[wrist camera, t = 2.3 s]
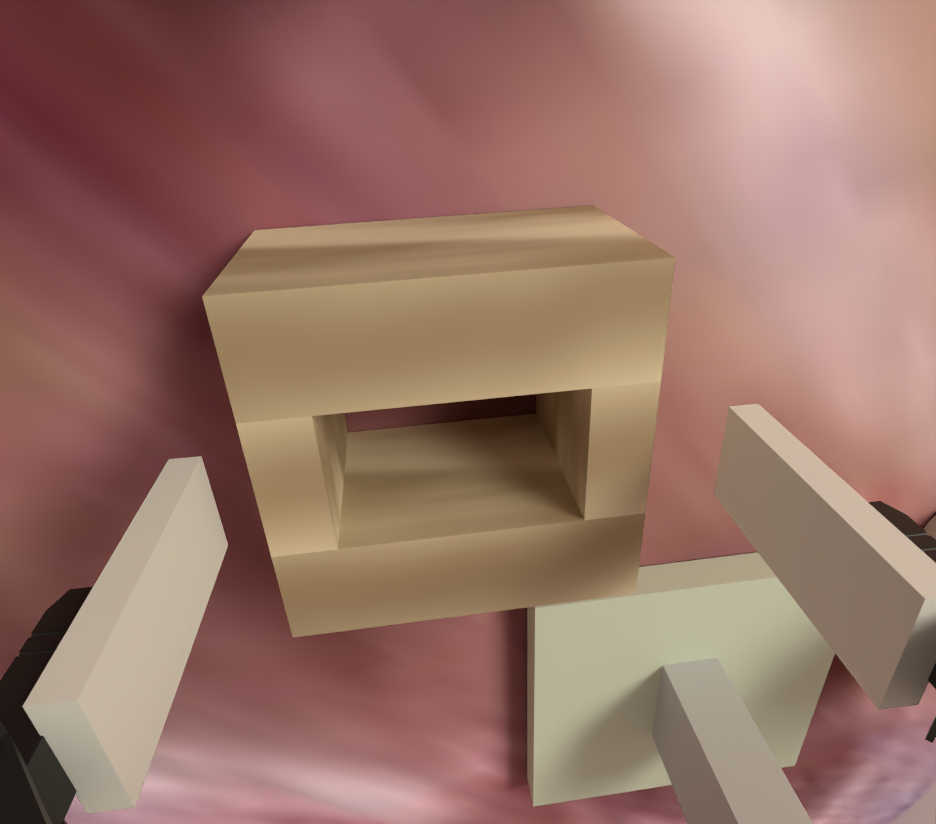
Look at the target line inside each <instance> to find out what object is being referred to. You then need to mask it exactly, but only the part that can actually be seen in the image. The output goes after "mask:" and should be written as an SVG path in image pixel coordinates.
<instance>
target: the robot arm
mask: <svg viewBox="0 0 936 824" xmlns="http://www.w3.org/2000/svg"><path fill="white" fill-rule="evenodd" d="M714 496H715V497H716V498H717V500H718V501H719V502H720V504H721V505H722V506H723V507H724V509H725V510H726V511H727V513H728V514H729V515H730V517H731V518H732V519H733V521H734V522H735V523H736V524H737V526H738V527H739V528H740V530H741V531H742V532H743V534H744V535H745V536H746V537H747V539H748V540H749V541H750V543H751V544H752V545H753V547H754V548H755V549H756V551H757V552H758V553H759V554H760V556H761V557H762V558H763V560H764V561H765V562H766V564H767V565H768V566H769V567H770V569H771V570H772V571H773V573H774V574H775V575H776V577H777V578H778V579H779V581H780V582H781V583H782V584H783V586H784V587H785V588H786V590H787V591H788V592H789V594H790V595H791V596H792V597H793V599H794V600H795V601H796V603H797V604H798V605H799V607H800V608H801V609H802V611H803V612H804V613H805V614H806V616H807V617H808V618H809V620H810V621H811V622H812V624H813V625H814V626H815V627H816V629H817V630H818V631H819V633H820V634H821V635H822V637H823V638H824V639H825V641H826V642H827V643H828V644H829V646H830V647H831V648H832V650H833V651H834V652H835V654H836V655H837V656H838V657H839V659H840V660H841V661H842V663H843V664H844V665H845V667H846V668H847V669H848V671H849V672H850V673H851V674H852V676H853V677H854V678H855V680H856V681H857V682H858V684H859V685H860V686H861V687H862V689H863V690H864V691H865V693H866V694H867V695H868V697H869V698H870V699H871V701H872V702H873V703H874V704H875V706H876V707H877V708H878V710H881V709H888V708H896V707H904V706H911V705H918V704H919V702H920V700H921V698H922V696H923V693H924V691H925V689H926V687H927V685H928V683H929V682H930V683H931V684H932V685H933V686H934V688H935V689H936V540H935V539H934V538H933V537H932V536H931V535H930V536H928V535H927V532H926V531H925V530H924V529H923V528H921V527H920V526H919V525H918V524H917V523H916V522H914V521H913V520H912V519H911V518H910V517H908V516H907V515H906V514H904V513H902V512H900V511H898V510H896V509H894V508H892V507H890V506H889V505H887V504H885V503H883V502H881V501H877V502H867V501H866V500H865V499H864V498H863V497H861V496H860V495H859V494H858V493H857V492H856V491H855V490H854V489H853V488H851V487H850V486H849V485H848V484H847V483H846V482H845V481H844V480H842V479H841V478H840V477H839V476H838V475H837V474H836V473H835V472H834V471H832V470H831V469H830V468H829V467H828V466H827V465H826V464H825V463H824V462H822V461H821V460H820V459H819V458H818V457H817V456H816V455H815V454H813V453H812V452H811V451H810V450H809V449H808V448H807V447H806V446H805V445H803V444H802V443H801V442H800V441H799V440H798V439H797V438H796V437H794V436H793V435H792V434H791V433H790V432H789V431H788V430H787V429H786V428H784V427H783V426H782V425H781V424H780V423H779V422H778V421H777V420H775V419H774V418H773V417H772V416H771V415H770V414H769V413H768V412H767V411H765V410H764V409H763V408H762V407H761V406H760V405H759V404H752V405H741V406H730V407H729V410H728V416H727V422H726V427H725V433H724V439H723V444H722V450H721V456H720V461H719V467H718V473H717V478H716V484H715V490H714ZM227 547H228V543H227V539H226V536H225V533H224V529H223V526H222V523H221V519H220V516H219V513H218V509H217V506H216V503H215V499H214V496H213V493H212V489H211V486H210V483H209V479H208V476H207V473H206V470H205V466H204V463H203V460H202V456H198V457H188V458H177V459H169V460H168V461H167V463H166V465H165V466H164V468H163V470H162V471H161V473H160V475H159V476H158V478H157V480H156V482H155V483H154V485H153V487H152V488H151V490H150V492H149V493H148V495H147V497H146V498H145V500H144V502H143V504H142V505H141V507H140V509H139V510H138V512H137V514H136V515H135V517H134V519H133V520H132V522H131V524H130V525H129V527H128V529H127V531H126V532H125V534H124V536H123V537H122V539H121V541H120V542H119V544H118V546H117V547H116V549H115V551H114V553H113V554H112V556H111V558H110V559H109V561H108V563H107V564H106V566H105V568H104V569H103V571H102V573H101V575H100V576H99V578H98V580H97V581H96V583H95V585H94V586H93V587H88V588H78V589H70V590H69V591H68V592H67V593H66V594H64V595H63V596H62V597H61V598H60V599H59V600H58V601H56V602H55V603H54V604H53V605H52V606H51V607H50V608H49V609H47V610H46V612H45V613H44V615H43V616H42V618H41V619H40V621H39V622H38V624H37V626H36V627H35V629H34V630H33V632H32V637H31V638H28V639H27V641H26V642H25V644H24V645H23V647H22V648H21V650H20V652H19V653H20V654H19V657H16V658H15V659H14V661H13V662H12V664H11V665H10V667H9V668H8V670H7V671H6V673H5V674H4V676H3V678H2V679H1V681H0V824H67V823H66V821H65V820H64V818H65V816H66V814H67V812H68V809H69V807H70V805H71V803H72V800H73V798H74V796H75V794H76V796H77V797H78V799H79V801H80V802H81V804H82V806H83V807H84V809H85V811H86V812H87V814H90V813H98V812H105V811H113V810H121V809H128V808H135V806H136V803H137V801H138V798H139V795H140V792H141V789H142V786H143V784H144V781H145V778H146V775H147V772H148V770H149V767H150V764H151V761H152V758H153V755H154V753H155V750H156V747H157V744H158V741H159V739H160V736H161V733H162V730H163V727H164V725H165V722H166V719H167V716H168V713H169V710H170V708H171V705H172V702H173V699H174V696H175V694H176V691H177V688H178V685H179V682H180V680H181V677H182V674H183V671H184V668H185V665H186V663H187V660H188V657H189V654H190V651H191V649H192V646H193V643H194V640H195V637H196V634H197V632H198V629H199V626H200V623H201V620H202V618H203V615H204V612H205V609H206V606H207V604H208V601H209V598H210V595H211V592H212V589H213V587H214V584H215V581H216V578H217V575H218V573H219V570H220V567H221V564H222V561H223V558H224V556H225V553H226V550H227ZM935 737H936V717H935V719H934V721H933V723H932V725H931V727H930V729H929V731H928V734H927V736H926V739H925V740H928V741H930V742H932V743H933V741H934V739H935Z"/></svg>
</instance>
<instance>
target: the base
mask: <svg viewBox="0 0 936 824" xmlns="http://www.w3.org/2000/svg"><path fill="white" fill-rule="evenodd" d="M834 655H835V652H834V651H833V650H832V648H831V647H830V646H829V644H828V643H827V642H826V641H825V639H824V638H823V637H822V635H821V634H820V633H819V631H818V630H817V629H816V627H815V626H814V625H813V624H812V622H811V621H810V620H809V618H808V617H807V616H806V614H805V613H804V612H803V611H802V609H801V608H800V607H799V605H798V604H797V603H796V601H795V600H794V599H793V597H792V596H791V595H790V594H789V592H788V591H787V590H786V588H785V587H784V586H783V584H782V583H781V582H780V581H779V579H778V578H777V577H776V575H775V574H774V573H773V571H772V570H771V569H770V567H769V566H768V565H767V564H766V562H765V561H764V560H763V558H762V557H761V556H760V554H759V553H758V552H756V553H748V554H740V555H732V556H724V557H716V558H708V559H700V560H692V561H684V562H677V563H669V564H661V565H653V566H645V567H639V570H638V579H637V587H636V593H635V594H627V595H620V596H612V597H604V598H596V599H589V600H581V601H573V602H565V603H558V604H550V605H542V606H534V607H527V779H528V784H529V789H530V793H531V798H532V803H533V806H540V805H546V804H552V803H559V802H565V801H572V800H578V799H584V798H591V797H597V796H603V795H610V794H616V793H623V792H629V791H635V790H642V789H648V788H654V787H661V786H667V785H672V786H673V789H674V791H675V794H676V796H677V799H678V801H679V803H680V806H681V808H682V811H683V813H684V816H685V818H686V821H687V823H688V824H813V823H812V821H811V820H810V818H809V816H808V814H807V813H806V811H805V809H804V807H803V806H802V804H801V802H800V800H799V799H798V797H797V795H796V793H795V792H794V790H793V788H792V787H791V785H790V783H789V781H788V780H787V778H786V776H785V774H784V773H783V771H782V769H781V768H782V767H788V766H795V764H796V761H797V758H798V755H799V752H800V750H801V747H802V744H803V741H804V738H805V736H806V733H807V730H808V727H809V725H810V722H811V719H812V716H813V713H814V711H815V708H816V705H817V702H818V699H819V697H820V694H821V691H822V688H823V685H824V683H825V680H826V677H827V674H828V671H829V669H830V666H831V663H832V660H833V657H834Z"/></svg>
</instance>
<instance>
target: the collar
mask: <svg viewBox="0 0 936 824" xmlns="http://www.w3.org/2000/svg"><path fill="white" fill-rule="evenodd" d="M675 259H676V258H675V257H674V256H672V255H670V254H669V253H667V252H666V251H664V250H663V249H661V248H659V247H658V246H656V245H655V244H653V243H651V242H650V241H648V240H647V239H645V238H644V237H642V236H640V235H639V234H637V233H636V232H634V231H633V230H631V229H629V228H628V227H626V226H625V225H623V224H621V223H620V222H618V221H617V220H615V219H614V218H612V217H610V216H609V215H607V214H606V213H604V212H603V211H601V210H599V209H598V208H596V207H595V206H579V207H566V208H552V209H538V210H525V211H511V212H497V213H484V214H470V215H456V216H443V217H429V218H415V219H402V220H388V221H374V222H361V223H347V224H333V225H320V226H306V227H293V228H279V229H265V230H254V231H253V233H252V234H251V235H250V237H249V238H248V239H247V240H246V242H245V243H244V244H243V245H242V247H241V248H240V249H239V250H238V252H237V253H236V254H235V255H234V257H233V258H232V259H231V260H230V262H229V263H228V264H227V266H226V267H225V268H224V269H223V271H222V272H221V273H220V274H219V276H218V277H217V278H216V279H215V281H214V282H213V283H212V284H211V286H210V287H209V288H208V290H207V291H206V292H205V293H204V295H203V296H202V298H203V302H204V306H205V309H206V313H207V317H208V321H209V325H210V328H211V332H212V336H213V340H214V343H215V347H216V351H217V355H218V358H219V362H220V366H221V370H222V373H223V377H224V381H225V385H226V389H227V392H228V396H229V400H230V404H231V407H232V411H233V415H234V419H235V422H236V426H237V430H238V434H239V437H240V441H241V445H242V449H243V452H244V456H245V460H246V464H247V468H248V471H249V475H250V479H251V483H252V486H253V490H254V494H255V498H256V501H257V505H258V509H259V513H260V516H261V520H262V524H263V528H264V532H265V535H266V539H267V543H268V547H269V550H270V554H271V558H272V562H273V565H274V569H275V573H276V577H277V580H278V584H279V588H280V592H281V596H282V599H283V603H284V607H285V611H286V614H287V618H288V622H289V626H290V629H291V633H292V637H293V638H294V637H301V636H309V635H317V634H325V633H332V632H340V631H348V630H356V629H364V628H371V627H379V626H387V625H395V624H402V623H410V622H418V621H426V620H433V619H441V618H449V617H457V616H464V615H472V614H480V613H488V612H495V611H503V610H511V609H519V608H526V607H534V606H542V605H550V604H558V603H565V602H573V601H581V600H589V599H596V598H604V597H612V596H620V595H627V594H635V593H636V587H637V579H638V570H639V562H640V553H641V545H642V537H643V528H644V520H645V511H646V503H647V494H648V486H649V478H650V469H651V461H652V452H653V444H654V436H655V427H656V419H657V410H658V402H659V393H660V385H661V377H662V368H663V360H664V351H665V343H666V335H667V326H668V318H669V309H670V301H671V292H672V284H673V276H674V267H675ZM531 394H536V413H534V414H524V415H514V416H505V417H495V418H485V419H475V420H465V421H456V422H446V423H436V424H426V425H416V426H406V427H397V428H387V429H377V430H367V431H357V432H348V428H347V422H346V416H345V413H349V412H359V411H369V410H379V409H389V408H399V407H410V406H420V405H430V404H440V403H450V402H460V401H470V400H480V399H490V398H500V397H510V396H521V395H531Z"/></svg>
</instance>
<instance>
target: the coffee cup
mask: <svg viewBox="0 0 936 824" xmlns="http://www.w3.org/2000/svg"><path fill="white" fill-rule="evenodd" d="M924 530H925V531H926V532H927V535H928V536H930V535H931V536H932V537H933V538H934V539H935V540H936V515H935V516H934V517H933V518H932V519H931V520H930V521H929V522H928V523H927V525H926V526H925V527H924Z"/></svg>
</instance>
